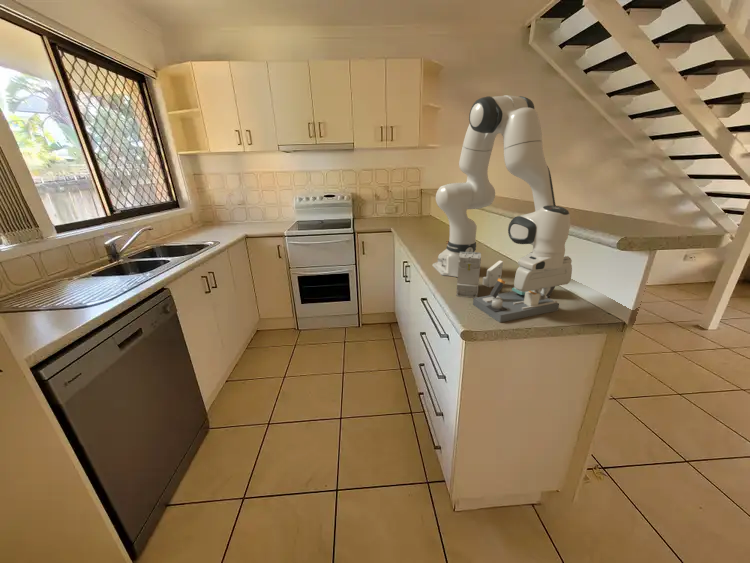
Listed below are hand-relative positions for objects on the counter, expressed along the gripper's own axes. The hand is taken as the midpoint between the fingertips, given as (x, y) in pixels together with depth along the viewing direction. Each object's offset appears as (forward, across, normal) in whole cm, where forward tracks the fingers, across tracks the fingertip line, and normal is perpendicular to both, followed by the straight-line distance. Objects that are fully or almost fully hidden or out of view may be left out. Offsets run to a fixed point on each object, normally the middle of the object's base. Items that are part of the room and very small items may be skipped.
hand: (539, 299), depth 102 cm
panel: (+4, +6, -4) cm, 8 cm away
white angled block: (+4, 0, -24) cm, 25 cm away
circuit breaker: (+4, +12, -24) cm, 27 cm away
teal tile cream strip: (0, -1, -7) cm, 7 cm away
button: (+1, +16, -2) cm, 16 cm away
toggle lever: (0, +13, -8) cm, 15 cm away
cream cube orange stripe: (+1, +4, 0) cm, 4 cm away
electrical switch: (+4, -12, -10) cm, 16 cm away
